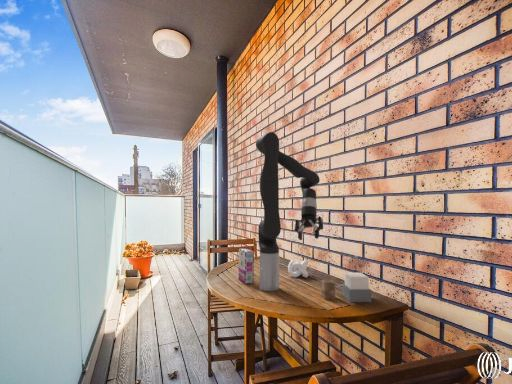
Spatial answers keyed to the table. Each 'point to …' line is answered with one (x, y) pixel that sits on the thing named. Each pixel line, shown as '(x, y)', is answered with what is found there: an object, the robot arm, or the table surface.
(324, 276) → the table surface
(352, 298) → the tower base block
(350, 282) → the tower top block
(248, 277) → the candy bar box
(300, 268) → the white knot sculpture
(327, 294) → the walnut block
